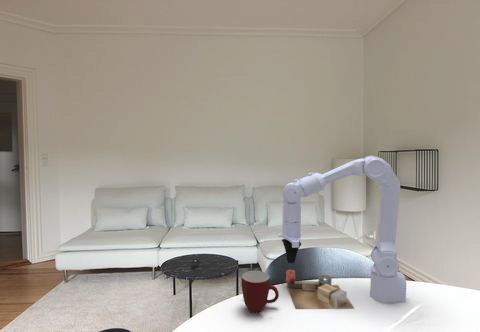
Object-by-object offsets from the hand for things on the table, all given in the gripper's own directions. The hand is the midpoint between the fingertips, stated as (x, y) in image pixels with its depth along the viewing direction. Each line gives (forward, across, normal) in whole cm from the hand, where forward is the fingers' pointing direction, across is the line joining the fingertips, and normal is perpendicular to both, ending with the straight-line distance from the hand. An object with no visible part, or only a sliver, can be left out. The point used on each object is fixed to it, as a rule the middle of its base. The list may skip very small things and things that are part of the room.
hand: (290, 262), depth 104 cm
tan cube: (+8, +8, +10) cm, 15 cm away
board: (+9, +6, +8) cm, 13 cm away
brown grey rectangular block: (+9, +11, +12) cm, 19 cm away
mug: (+10, +12, -11) cm, 19 cm away
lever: (+8, +1, +6) cm, 10 cm away
